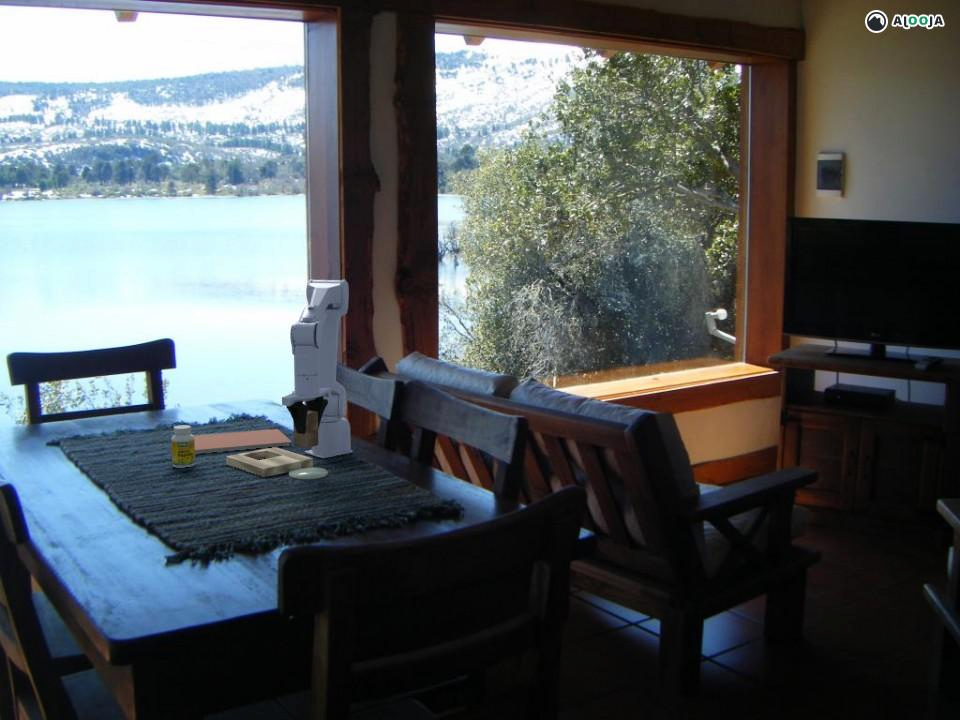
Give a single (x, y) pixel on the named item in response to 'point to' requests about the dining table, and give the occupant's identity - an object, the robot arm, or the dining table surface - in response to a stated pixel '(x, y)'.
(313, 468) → the coaster
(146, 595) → the dining table surface
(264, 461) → the board
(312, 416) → the walnut block
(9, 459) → the dining table surface
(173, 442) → the supplement bottle
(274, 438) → the notebook
